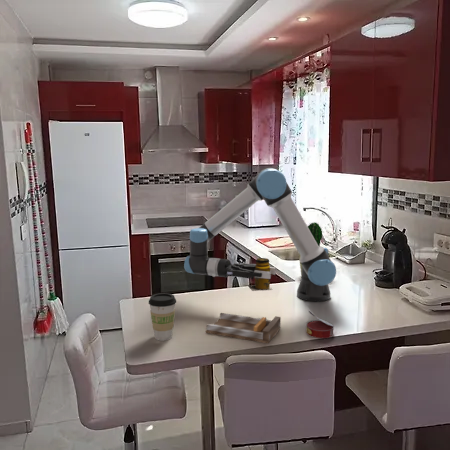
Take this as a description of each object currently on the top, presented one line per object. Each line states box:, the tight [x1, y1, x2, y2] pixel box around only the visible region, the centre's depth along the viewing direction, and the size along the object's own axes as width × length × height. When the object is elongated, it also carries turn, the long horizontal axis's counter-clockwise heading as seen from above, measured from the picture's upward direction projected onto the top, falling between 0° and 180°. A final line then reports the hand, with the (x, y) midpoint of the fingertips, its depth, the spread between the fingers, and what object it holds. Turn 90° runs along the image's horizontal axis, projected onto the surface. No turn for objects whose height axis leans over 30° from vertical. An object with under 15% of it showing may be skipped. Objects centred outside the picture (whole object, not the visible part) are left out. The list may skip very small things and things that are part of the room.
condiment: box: [247, 257, 274, 292], centre depth 181 cm, size 7×8×12 cm
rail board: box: [205, 312, 282, 344], centre depth 167 cm, size 24×15×4 cm, turn 67°
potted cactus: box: [298, 221, 324, 272], centre depth 235 cm, size 15×15×30 cm
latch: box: [254, 316, 267, 332], centre depth 164 cm, size 1×10×3 cm, turn 157°
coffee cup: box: [148, 292, 177, 341], centre depth 160 cm, size 10×10×15 cm
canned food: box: [305, 309, 335, 339], centre depth 165 cm, size 11×10×10 cm
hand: (272, 273), depth 179 cm, fingers closed on condiment, 6 cm apart
